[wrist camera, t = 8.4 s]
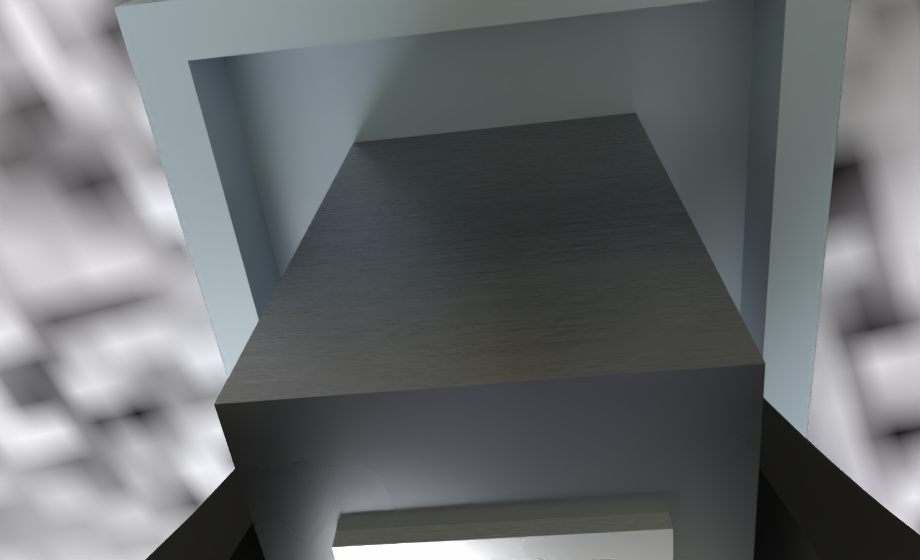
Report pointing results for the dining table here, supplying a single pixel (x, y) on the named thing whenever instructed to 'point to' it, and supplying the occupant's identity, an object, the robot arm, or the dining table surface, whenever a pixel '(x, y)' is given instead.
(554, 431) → the block
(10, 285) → the dining table surface
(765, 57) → the pin tray
